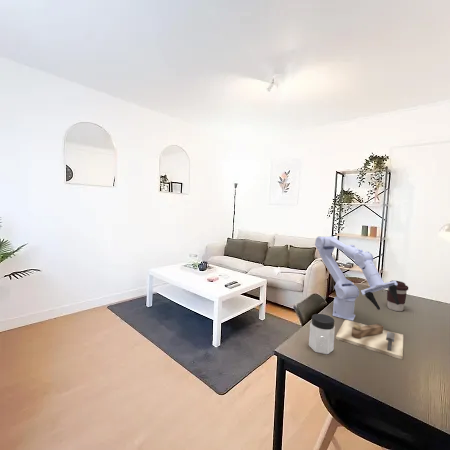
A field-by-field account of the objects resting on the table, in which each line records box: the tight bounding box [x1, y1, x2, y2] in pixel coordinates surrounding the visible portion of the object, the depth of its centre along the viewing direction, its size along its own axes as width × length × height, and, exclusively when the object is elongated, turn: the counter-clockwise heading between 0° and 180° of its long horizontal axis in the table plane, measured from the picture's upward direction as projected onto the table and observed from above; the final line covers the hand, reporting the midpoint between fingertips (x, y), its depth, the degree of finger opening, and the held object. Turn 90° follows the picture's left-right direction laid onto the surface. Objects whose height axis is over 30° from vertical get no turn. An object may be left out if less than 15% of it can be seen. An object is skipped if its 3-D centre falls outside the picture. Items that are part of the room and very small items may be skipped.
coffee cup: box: [386, 280, 409, 312], centre depth 142 cm, size 10×10×15 cm
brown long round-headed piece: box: [352, 323, 384, 338], centre depth 110 cm, size 15×4×3 cm, turn 110°
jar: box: [308, 313, 336, 355], centre depth 100 cm, size 9×8×12 cm
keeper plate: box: [335, 319, 404, 360], centre depth 109 cm, size 23×20×6 cm
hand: (388, 306), depth 109 cm, fingers open, 7 cm apart
